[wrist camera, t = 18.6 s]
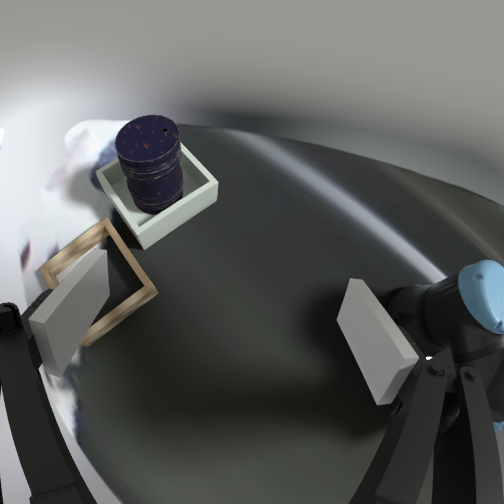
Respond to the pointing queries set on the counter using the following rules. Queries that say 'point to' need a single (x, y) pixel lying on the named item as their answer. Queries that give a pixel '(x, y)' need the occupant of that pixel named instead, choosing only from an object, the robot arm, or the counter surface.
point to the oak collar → (79, 249)
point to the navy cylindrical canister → (151, 162)
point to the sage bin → (157, 226)
